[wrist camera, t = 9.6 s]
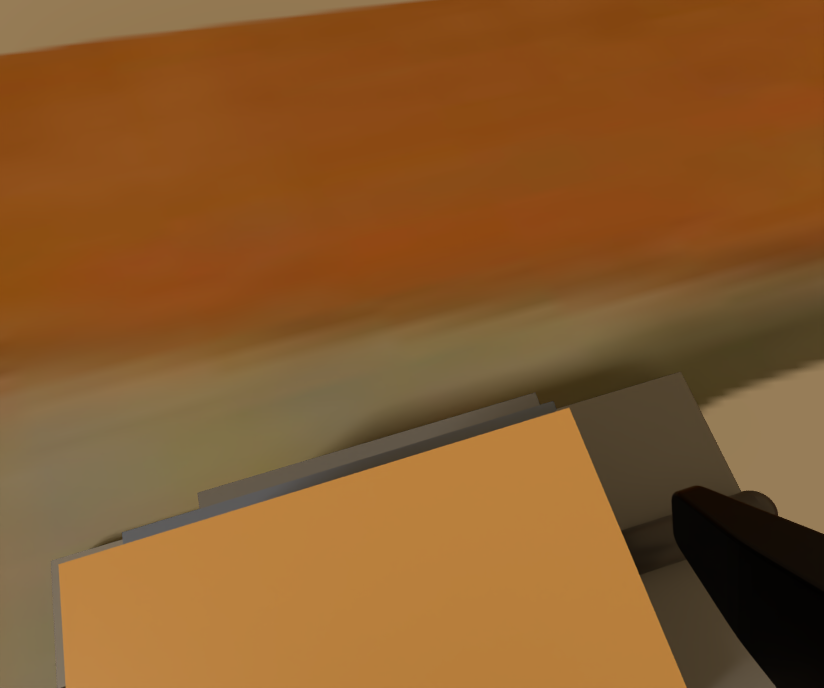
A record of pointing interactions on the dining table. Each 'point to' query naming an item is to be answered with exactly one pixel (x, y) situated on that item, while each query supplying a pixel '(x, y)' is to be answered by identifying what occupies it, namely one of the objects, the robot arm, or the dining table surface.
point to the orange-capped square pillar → (382, 578)
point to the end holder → (628, 497)
